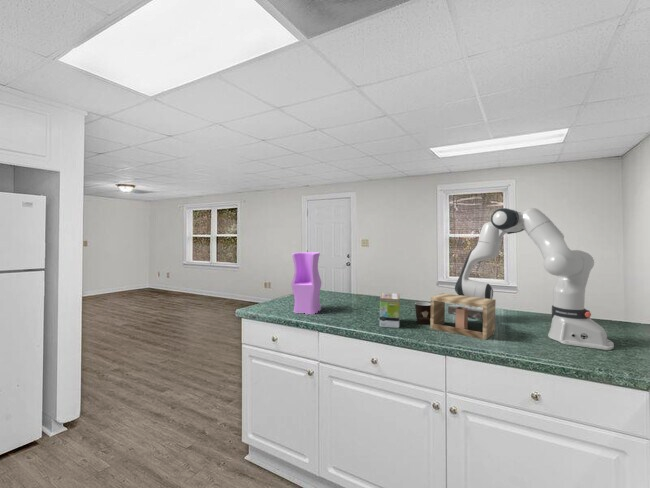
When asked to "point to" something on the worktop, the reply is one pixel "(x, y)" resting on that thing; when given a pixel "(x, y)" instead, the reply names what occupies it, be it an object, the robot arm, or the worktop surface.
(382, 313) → the tea box
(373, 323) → the worktop surface
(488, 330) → the shelf
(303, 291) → the container
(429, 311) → the coffee mug
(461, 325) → the block
